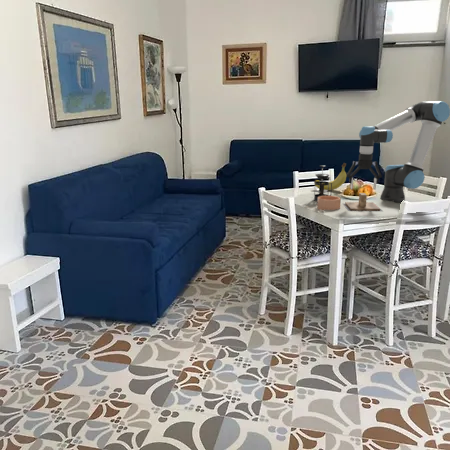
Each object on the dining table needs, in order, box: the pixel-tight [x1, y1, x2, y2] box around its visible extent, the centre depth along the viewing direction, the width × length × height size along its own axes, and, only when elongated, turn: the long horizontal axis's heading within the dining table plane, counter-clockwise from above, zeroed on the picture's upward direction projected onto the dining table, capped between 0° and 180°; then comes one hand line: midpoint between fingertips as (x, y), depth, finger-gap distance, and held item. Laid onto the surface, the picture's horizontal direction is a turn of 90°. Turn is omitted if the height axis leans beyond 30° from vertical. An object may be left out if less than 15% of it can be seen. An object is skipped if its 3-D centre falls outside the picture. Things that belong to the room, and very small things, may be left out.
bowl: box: [316, 195, 341, 211], centre depth 271 cm, size 13×13×6 cm
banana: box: [313, 162, 347, 191], centre depth 323 cm, size 23×6×20 cm, turn 78°
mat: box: [342, 203, 383, 212], centre depth 270 cm, size 20×20×1 cm
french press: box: [313, 165, 333, 202], centre depth 291 cm, size 12×9×23 cm
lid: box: [344, 192, 381, 212], centre depth 269 cm, size 17×17×8 cm
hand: (362, 189), depth 267 cm, fingers open, 13 cm apart
